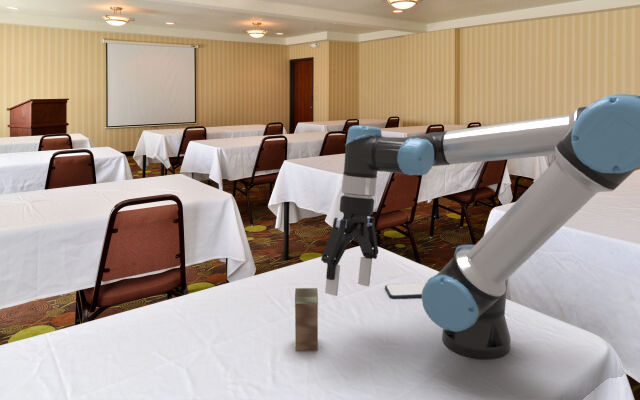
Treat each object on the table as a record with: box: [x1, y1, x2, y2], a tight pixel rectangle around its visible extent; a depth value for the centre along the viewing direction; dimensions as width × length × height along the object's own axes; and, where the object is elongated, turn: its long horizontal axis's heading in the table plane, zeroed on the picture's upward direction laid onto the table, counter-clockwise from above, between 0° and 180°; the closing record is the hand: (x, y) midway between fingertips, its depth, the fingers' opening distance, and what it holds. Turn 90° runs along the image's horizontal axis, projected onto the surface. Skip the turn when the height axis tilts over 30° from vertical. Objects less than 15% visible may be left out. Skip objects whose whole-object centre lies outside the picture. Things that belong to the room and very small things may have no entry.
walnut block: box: [294, 287, 319, 352], centre depth 113 cm, size 5×5×13 cm
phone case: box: [384, 282, 427, 300], centre depth 145 cm, size 9×2×16 cm
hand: (348, 289), depth 112 cm, fingers open, 13 cm apart
